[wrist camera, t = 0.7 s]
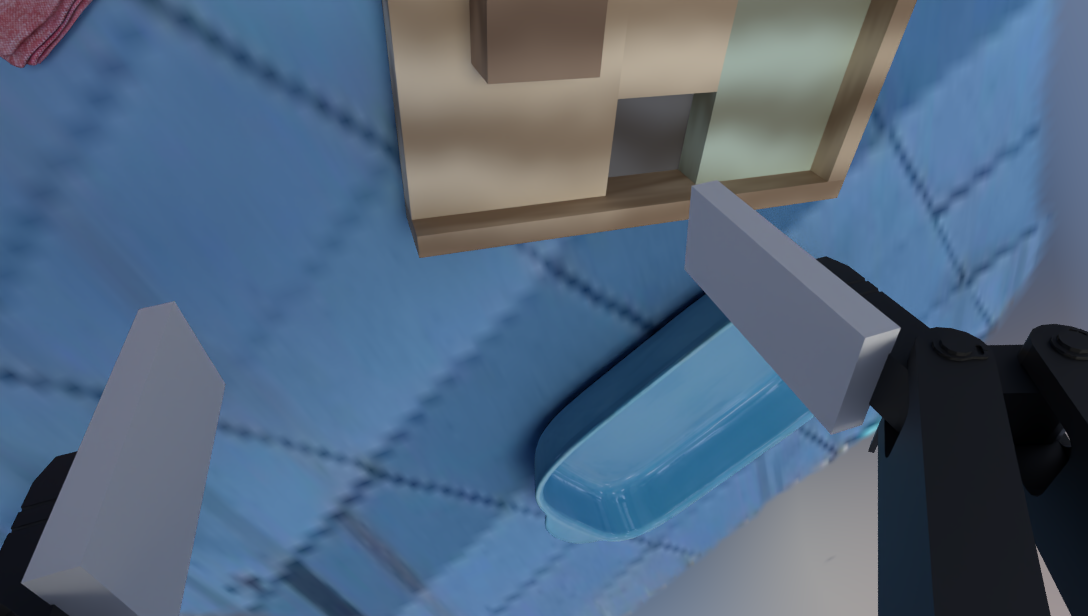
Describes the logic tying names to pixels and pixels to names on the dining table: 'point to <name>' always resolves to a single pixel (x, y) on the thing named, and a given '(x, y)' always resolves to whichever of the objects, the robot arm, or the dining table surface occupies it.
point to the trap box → (633, 116)
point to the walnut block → (537, 39)
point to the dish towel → (35, 27)
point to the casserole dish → (661, 430)
